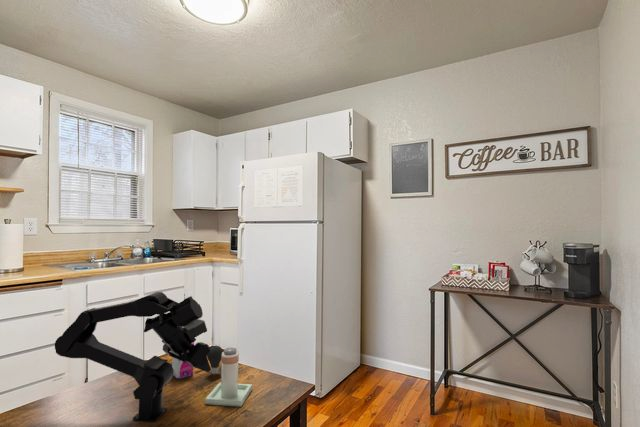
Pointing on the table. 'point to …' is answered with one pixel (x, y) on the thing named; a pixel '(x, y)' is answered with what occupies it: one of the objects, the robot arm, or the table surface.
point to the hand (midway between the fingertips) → (201, 367)
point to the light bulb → (215, 358)
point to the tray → (238, 401)
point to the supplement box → (181, 368)
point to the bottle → (229, 373)
